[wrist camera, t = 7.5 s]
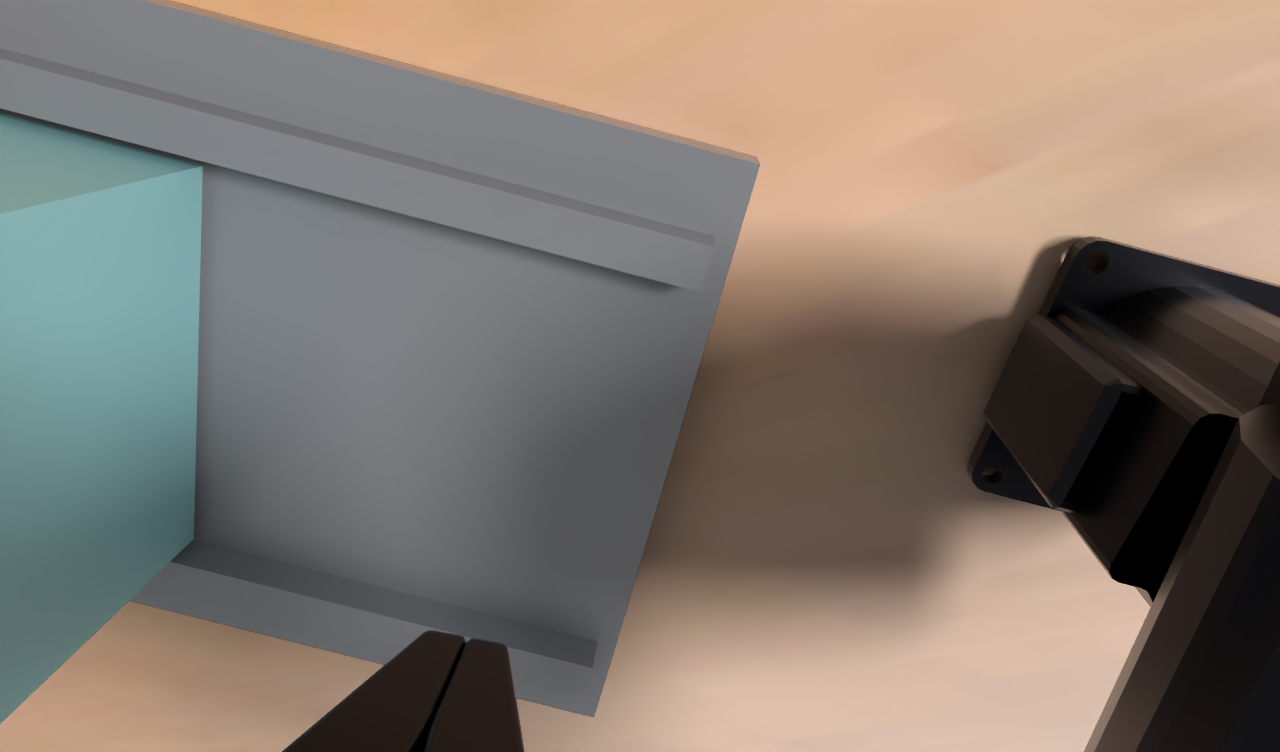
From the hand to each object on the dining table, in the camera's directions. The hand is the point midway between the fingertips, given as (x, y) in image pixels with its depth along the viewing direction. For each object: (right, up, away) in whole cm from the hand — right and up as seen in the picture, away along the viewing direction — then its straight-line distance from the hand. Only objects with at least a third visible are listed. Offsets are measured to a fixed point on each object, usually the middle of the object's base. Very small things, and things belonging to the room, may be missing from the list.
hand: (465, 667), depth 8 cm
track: (-7, +3, +12) cm, 14 cm away
